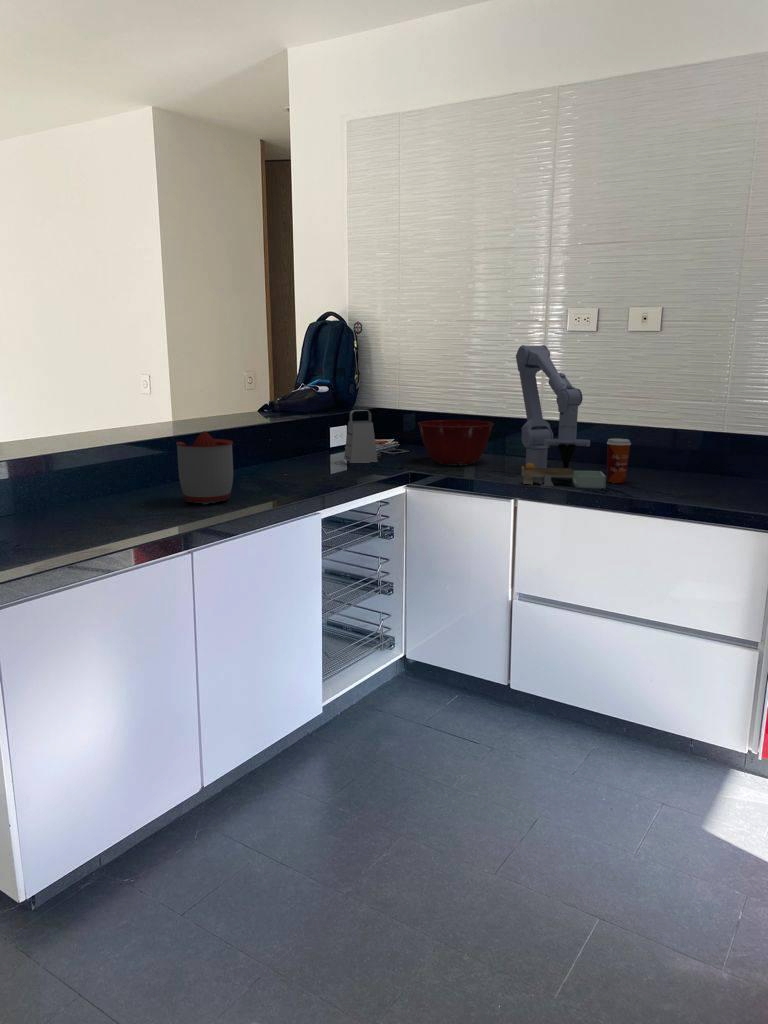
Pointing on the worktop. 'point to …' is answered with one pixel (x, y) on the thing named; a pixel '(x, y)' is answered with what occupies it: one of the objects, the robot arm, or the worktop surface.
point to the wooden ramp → (541, 472)
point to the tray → (589, 479)
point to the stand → (546, 480)
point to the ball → (529, 466)
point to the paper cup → (617, 459)
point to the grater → (360, 441)
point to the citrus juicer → (205, 468)
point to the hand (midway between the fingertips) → (565, 467)
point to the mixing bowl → (455, 440)
